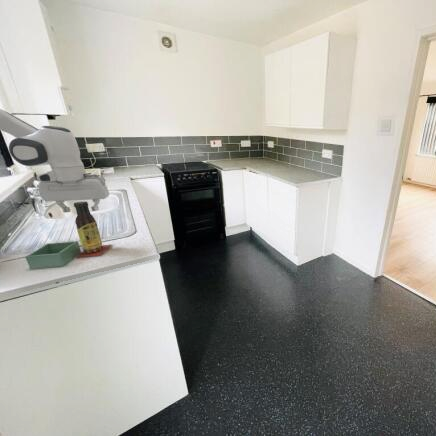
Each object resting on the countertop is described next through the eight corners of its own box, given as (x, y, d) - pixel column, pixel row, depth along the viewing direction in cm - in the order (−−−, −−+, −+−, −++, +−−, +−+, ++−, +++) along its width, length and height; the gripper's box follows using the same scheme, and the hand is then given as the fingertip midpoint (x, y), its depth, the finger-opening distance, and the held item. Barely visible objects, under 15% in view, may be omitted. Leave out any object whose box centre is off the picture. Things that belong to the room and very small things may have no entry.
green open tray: (30, 269, 86) (24, 256, 84) (52, 255, 95) (47, 243, 94) (63, 266, 87) (59, 253, 86) (81, 252, 97) (77, 241, 96)
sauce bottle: (91, 255, 94) (75, 205, 87) (80, 253, 96) (63, 204, 89) (108, 247, 100) (94, 201, 93) (96, 245, 101) (82, 199, 95)
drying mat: (76, 258, 93) (76, 256, 93) (90, 247, 101) (89, 246, 101) (100, 255, 94) (99, 254, 94) (111, 245, 103) (111, 244, 103)
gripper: (107, 172, 92) (116, 207, 97) (44, 173, 88) (56, 210, 93) (98, 175, 86) (108, 212, 91) (30, 177, 83) (44, 215, 87)
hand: (81, 211), depth 92 cm, fingers open, 8 cm apart
